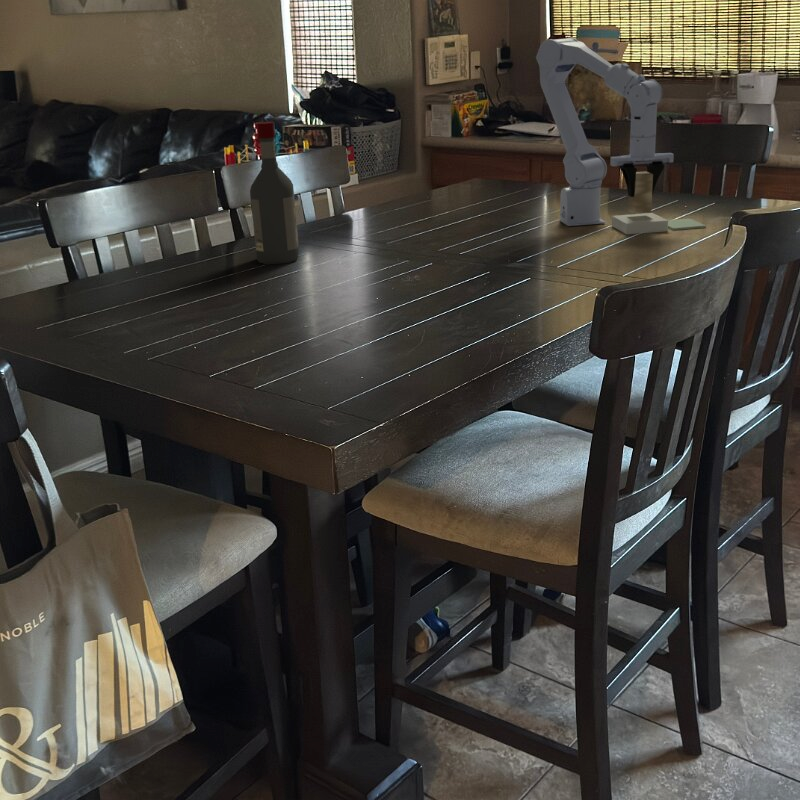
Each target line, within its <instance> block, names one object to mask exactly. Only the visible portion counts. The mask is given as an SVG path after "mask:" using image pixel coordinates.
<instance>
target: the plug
mask: <svg viewBox="0 0 800 800" xmlns="http://www.w3.org/2000/svg"><path fill="white" fill-rule="evenodd" d="M652 184H653V174H652V173H650V172H647V170H646V171H645V170H644V171H636V176H635V192H634V197H630V196H628V212H630V213H632V214H643V213H652V201H653V200H652V199H653V195H652Z"/></svg>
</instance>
